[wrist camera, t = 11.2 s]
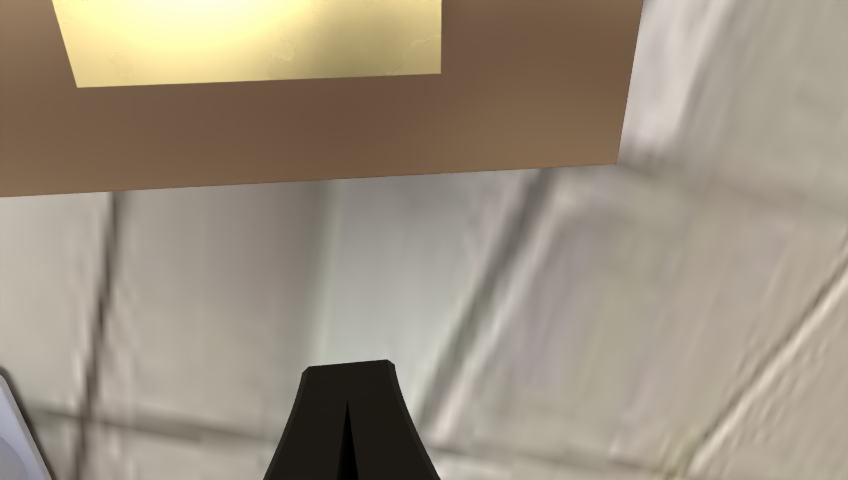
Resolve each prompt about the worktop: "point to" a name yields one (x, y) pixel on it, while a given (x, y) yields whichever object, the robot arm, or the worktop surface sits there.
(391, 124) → the brown wooden block
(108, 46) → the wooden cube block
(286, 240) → the worktop surface
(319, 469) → the robot arm
